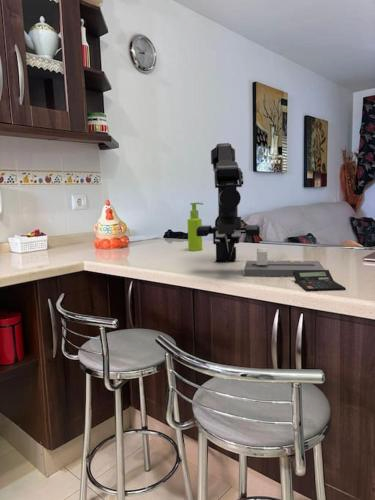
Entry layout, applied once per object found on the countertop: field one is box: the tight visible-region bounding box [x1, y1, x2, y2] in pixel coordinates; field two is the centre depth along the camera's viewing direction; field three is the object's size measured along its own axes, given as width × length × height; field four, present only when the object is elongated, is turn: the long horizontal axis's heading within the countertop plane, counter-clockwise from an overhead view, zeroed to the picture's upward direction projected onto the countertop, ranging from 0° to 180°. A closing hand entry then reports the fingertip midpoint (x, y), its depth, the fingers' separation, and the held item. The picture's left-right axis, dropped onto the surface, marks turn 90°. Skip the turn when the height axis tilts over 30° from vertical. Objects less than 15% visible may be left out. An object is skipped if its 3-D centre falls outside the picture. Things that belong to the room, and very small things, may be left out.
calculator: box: [293, 269, 347, 292], centre depth 97 cm, size 9×12×3 cm
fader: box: [256, 248, 268, 265], centre depth 114 cm, size 3×6×4 cm, turn 168°
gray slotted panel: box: [243, 260, 326, 278], centre depth 114 cm, size 22×14×2 cm, turn 78°
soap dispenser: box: [187, 202, 204, 252], centre depth 161 cm, size 6×7×20 cm
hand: (228, 258), depth 117 cm, fingers closed
